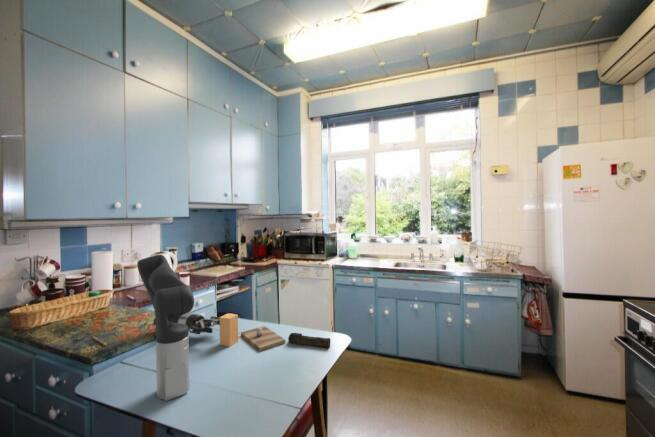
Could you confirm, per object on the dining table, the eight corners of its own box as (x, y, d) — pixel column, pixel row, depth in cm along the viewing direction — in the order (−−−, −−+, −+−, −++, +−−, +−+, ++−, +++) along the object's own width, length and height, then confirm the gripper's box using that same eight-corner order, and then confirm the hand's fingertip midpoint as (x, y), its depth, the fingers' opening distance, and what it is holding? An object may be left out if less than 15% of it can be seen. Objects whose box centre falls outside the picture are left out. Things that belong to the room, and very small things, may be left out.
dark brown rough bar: (331, 345, 121) (331, 335, 121) (328, 350, 118) (328, 338, 118) (291, 340, 127) (291, 330, 127) (287, 344, 123) (287, 333, 123)
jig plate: (285, 342, 124) (285, 331, 124) (260, 351, 116) (259, 339, 116) (264, 328, 139) (264, 318, 139) (240, 335, 132) (240, 324, 132)
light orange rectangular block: (238, 341, 126) (237, 314, 125) (229, 346, 121) (229, 318, 120) (228, 339, 128) (228, 313, 127) (219, 344, 123) (219, 317, 122)
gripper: (178, 319, 125) (206, 324, 119) (202, 309, 138) (229, 313, 132) (178, 336, 125) (207, 341, 119) (203, 324, 138) (229, 329, 133)
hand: (219, 326), depth 126 cm, fingers open, 8 cm apart
